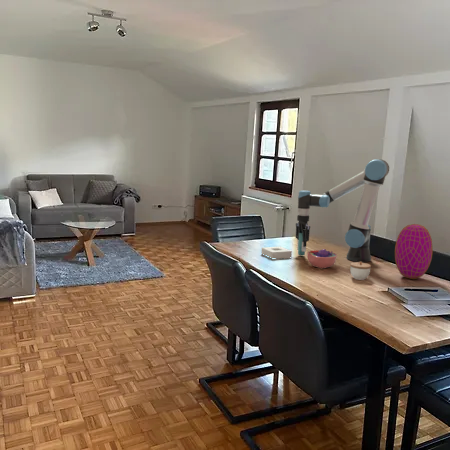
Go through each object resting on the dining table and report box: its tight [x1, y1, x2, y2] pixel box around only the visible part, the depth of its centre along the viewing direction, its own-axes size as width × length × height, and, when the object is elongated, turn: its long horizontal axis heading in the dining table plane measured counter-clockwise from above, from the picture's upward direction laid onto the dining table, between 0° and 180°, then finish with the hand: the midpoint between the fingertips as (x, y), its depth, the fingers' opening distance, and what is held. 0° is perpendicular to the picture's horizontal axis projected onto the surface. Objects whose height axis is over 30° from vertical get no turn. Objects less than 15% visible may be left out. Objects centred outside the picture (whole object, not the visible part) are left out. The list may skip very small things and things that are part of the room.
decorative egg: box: [394, 223, 433, 280], centre depth 258 cm, size 19×19×30 cm
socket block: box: [261, 246, 293, 259], centre depth 302 cm, size 14×14×4 cm
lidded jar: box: [349, 261, 372, 281], centre depth 256 cm, size 11×11×9 cm
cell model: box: [306, 248, 338, 269], centre depth 277 cm, size 17×20×11 cm
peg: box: [297, 233, 306, 256], centre depth 304 cm, size 4×4×14 cm
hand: (301, 250), depth 304 cm, fingers closed on peg, 4 cm apart
